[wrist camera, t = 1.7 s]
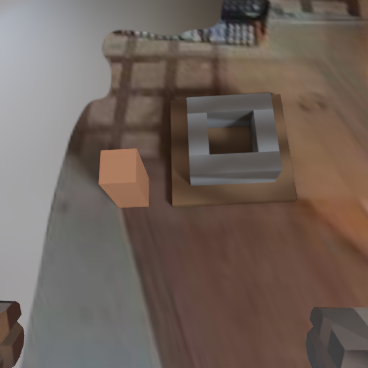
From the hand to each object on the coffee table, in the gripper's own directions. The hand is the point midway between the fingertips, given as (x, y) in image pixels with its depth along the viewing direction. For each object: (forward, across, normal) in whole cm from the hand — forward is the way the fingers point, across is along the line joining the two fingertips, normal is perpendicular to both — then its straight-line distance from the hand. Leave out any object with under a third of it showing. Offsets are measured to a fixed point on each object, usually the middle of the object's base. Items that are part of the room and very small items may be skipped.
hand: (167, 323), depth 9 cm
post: (+34, +6, +7) cm, 35 cm away
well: (+37, -7, +2) cm, 37 cm away
